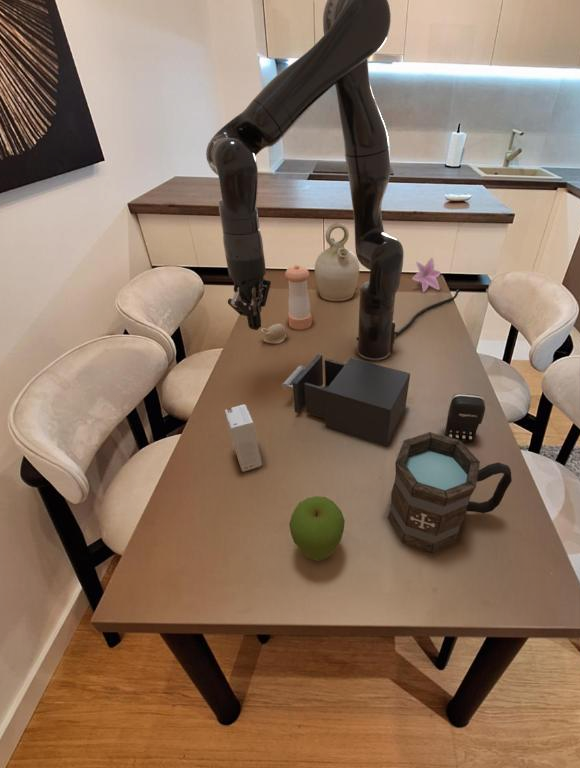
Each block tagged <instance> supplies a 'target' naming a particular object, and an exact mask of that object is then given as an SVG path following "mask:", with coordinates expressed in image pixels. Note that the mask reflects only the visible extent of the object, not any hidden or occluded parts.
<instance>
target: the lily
mask: <svg viewBox="0 0 580 768" xmlns="http://www.w3.org/2000/svg"><path fill="white" fill-rule="evenodd" d="M416 267H417V269H418V272H417V273H415V274H414V275H413V276H412V278H411V279H412V280H413V281H415V282H418V283H421V287H422V292H423V293H425V292H426V291H427V289H428V288H429V286H430V287H431V288H433V289H436V290H438V291H439V290H440V285H439V282H438V279H437V278H438V277H439V276H440V275H441V274H442V272H441V271H439V270H435V261H434V258H433V257H430V258H429V260H428V261H427V262H426V264H422V263H420V262H418V261H417V262H416Z"/></svg>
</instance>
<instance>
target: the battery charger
mask: <svg viewBox="0 0 580 768" xmlns="http://www.w3.org/2000/svg"><path fill="white" fill-rule="evenodd" d="M485 412H486V403H485V399H484V398H483V397H482V396H481V395H479V394H471V393H455V394H453V396H452V397H451V399H450V402H449V405H448V410H447V415H446V422H445V427H444V429H443V434H444V436H446V437H450V438H454V439H457V440H460V441H461V442H462V443H473V442H475V440H476V434H477V431H478V428H479V425H481V424H482V422H483V420H484V416H485Z"/></svg>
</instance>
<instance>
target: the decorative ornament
mask: <svg viewBox="0 0 580 768" xmlns="http://www.w3.org/2000/svg"><path fill="white" fill-rule="evenodd" d="M260 332H261V333H262V334H263V335H264V338H263V340H262V341H263V342H265V343H268V344H273V345H274V344H280V343H283V342H284V341H285V339H286V337H287V333H286V329H285V327H284V326H283V325H282V324H281V323H275V324H273V325H271V326H269V327H268V328H265V327H264V328H262V327H261V328H260Z"/></svg>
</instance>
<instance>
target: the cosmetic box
mask: <svg viewBox="0 0 580 768" xmlns="http://www.w3.org/2000/svg"><path fill="white" fill-rule="evenodd" d="M224 414H225V418H226V421H227V425H228V428H229V432H230V436H231V439H232V443H233V447H234V450H235V455H236V458H237V461H238V464H239V467H240V470H241V472H247V471H251V470H254V469H257V468H259V467H262V465H263V462H262V457H261V453H260V448H259V443H258V439H257V433H256V430H255V425H254V421H253V418H252V416H251V413H250V411H249V408H248V407H247V405H246V403H245V404H240V405H236V406H233V407H230V408H226V409H224Z"/></svg>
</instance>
